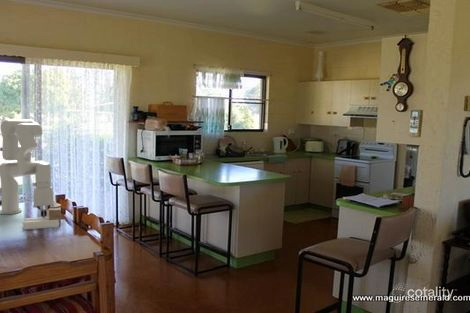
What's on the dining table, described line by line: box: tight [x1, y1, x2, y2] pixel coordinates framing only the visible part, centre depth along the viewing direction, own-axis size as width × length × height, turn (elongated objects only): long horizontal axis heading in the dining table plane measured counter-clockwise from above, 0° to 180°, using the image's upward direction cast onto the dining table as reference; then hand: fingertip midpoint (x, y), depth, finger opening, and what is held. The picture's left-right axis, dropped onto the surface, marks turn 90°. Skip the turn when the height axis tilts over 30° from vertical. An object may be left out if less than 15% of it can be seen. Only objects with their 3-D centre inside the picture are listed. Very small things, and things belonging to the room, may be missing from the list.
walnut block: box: [49, 208, 62, 225], centre depth 239 cm, size 5×6×8 cm
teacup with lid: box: [45, 200, 62, 217], centre depth 250 cm, size 12×9×12 cm
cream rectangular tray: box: [22, 217, 60, 230], centre depth 236 cm, size 8×18×4 cm, turn 114°
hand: (43, 217), depth 237 cm, fingers closed
